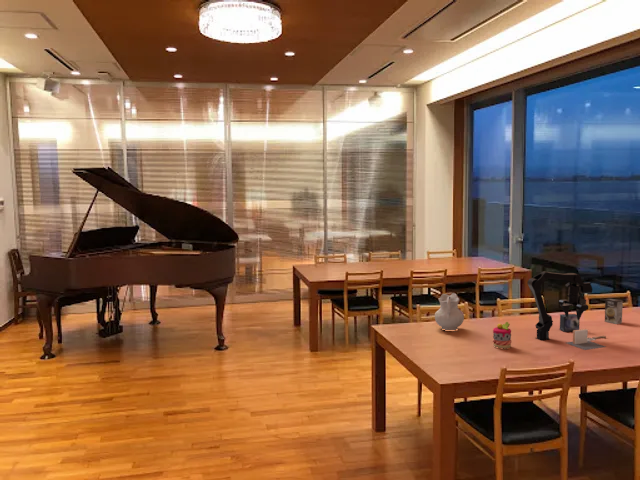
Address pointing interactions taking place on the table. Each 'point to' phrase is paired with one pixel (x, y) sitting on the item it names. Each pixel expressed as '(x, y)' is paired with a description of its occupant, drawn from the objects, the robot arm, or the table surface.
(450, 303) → the ceramic pitcher
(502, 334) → the cake
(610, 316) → the coffee box
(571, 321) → the small box
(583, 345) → the mat
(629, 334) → the table surface
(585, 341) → the tile
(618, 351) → the table surface
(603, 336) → the turner
